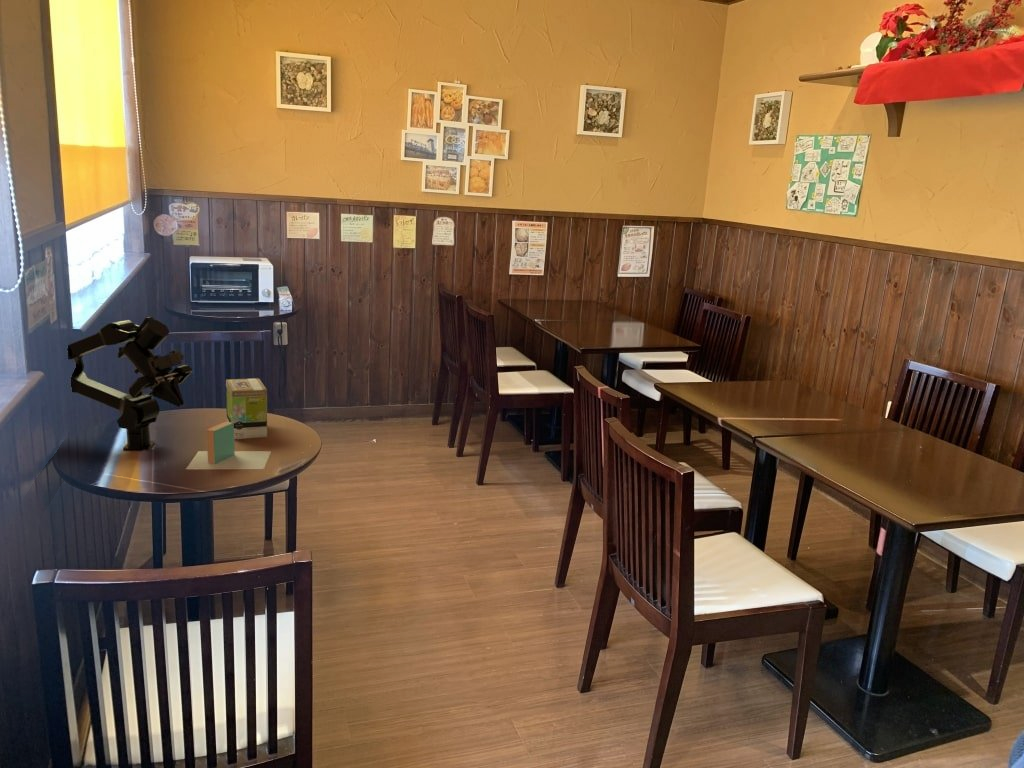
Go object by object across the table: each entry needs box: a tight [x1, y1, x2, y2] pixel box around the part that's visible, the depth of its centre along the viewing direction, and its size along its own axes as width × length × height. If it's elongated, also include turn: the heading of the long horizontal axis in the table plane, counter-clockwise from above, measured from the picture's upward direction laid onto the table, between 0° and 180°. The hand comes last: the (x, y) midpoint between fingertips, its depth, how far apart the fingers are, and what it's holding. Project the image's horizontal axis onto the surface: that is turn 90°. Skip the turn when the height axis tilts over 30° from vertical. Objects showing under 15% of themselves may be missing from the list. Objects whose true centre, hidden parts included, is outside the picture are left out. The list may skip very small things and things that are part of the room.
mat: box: [185, 450, 272, 470], centre depth 204 cm, size 14×19×1 cm
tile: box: [206, 421, 236, 464], centre depth 204 cm, size 2×8×9 cm, turn 164°
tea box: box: [225, 377, 268, 440], centre depth 227 cm, size 15×10×15 cm, turn 26°
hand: (181, 405), depth 204 cm, fingers closed
